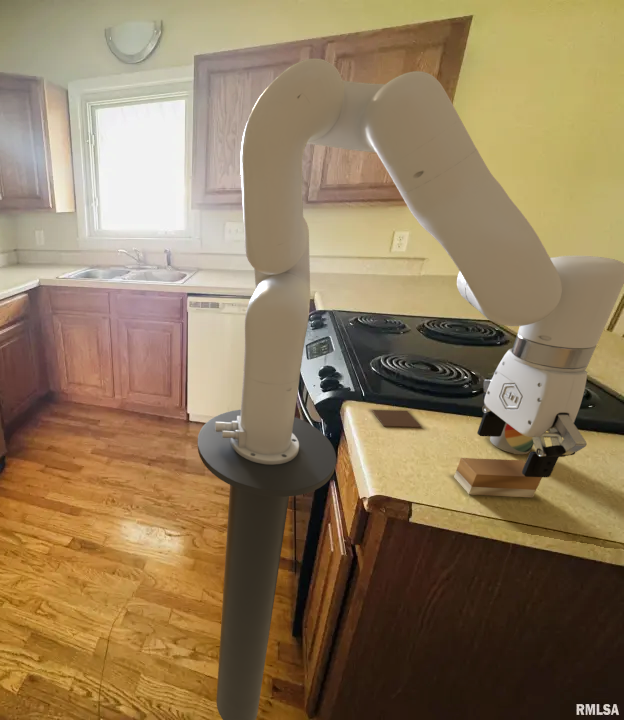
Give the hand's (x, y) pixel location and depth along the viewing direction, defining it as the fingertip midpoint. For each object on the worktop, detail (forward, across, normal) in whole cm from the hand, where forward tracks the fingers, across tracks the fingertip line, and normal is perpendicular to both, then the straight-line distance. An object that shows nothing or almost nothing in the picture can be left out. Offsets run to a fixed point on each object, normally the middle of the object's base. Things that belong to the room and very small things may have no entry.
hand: (510, 454), depth 60 cm
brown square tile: (+6, -20, -7) cm, 22 cm away
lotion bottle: (+7, -12, +9) cm, 17 cm away
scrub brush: (+7, 0, -1) cm, 7 cm away
